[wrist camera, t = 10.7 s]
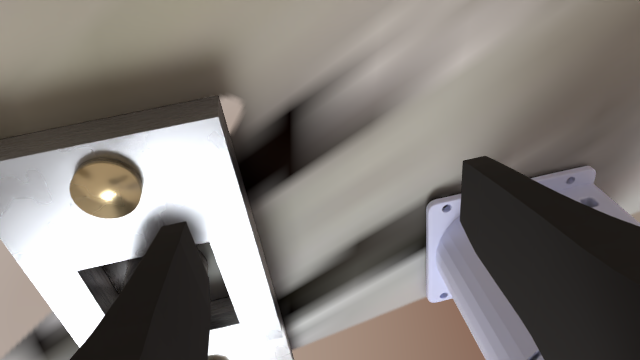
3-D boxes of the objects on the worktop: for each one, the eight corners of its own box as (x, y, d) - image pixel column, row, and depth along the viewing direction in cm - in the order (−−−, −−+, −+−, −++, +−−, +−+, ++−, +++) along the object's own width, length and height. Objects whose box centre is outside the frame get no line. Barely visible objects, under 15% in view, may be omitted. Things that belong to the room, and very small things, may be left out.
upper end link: (218, 95, 19) (218, 122, 17) (279, 309, 28) (284, 345, 25) (-26, 144, 19) (-56, 178, 17) (111, 349, 27) (101, 388, 25)
